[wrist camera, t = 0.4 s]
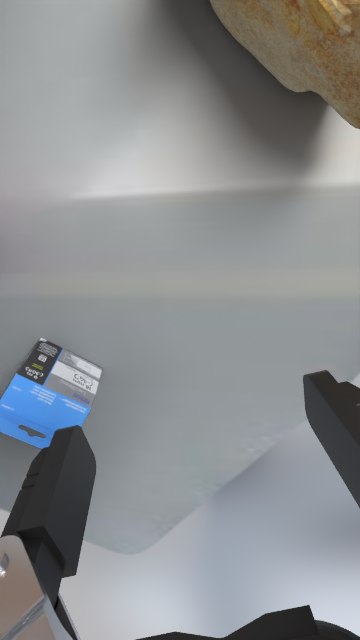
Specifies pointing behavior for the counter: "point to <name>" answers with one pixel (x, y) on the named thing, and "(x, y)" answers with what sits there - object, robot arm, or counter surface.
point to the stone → (303, 45)
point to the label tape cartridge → (48, 394)
